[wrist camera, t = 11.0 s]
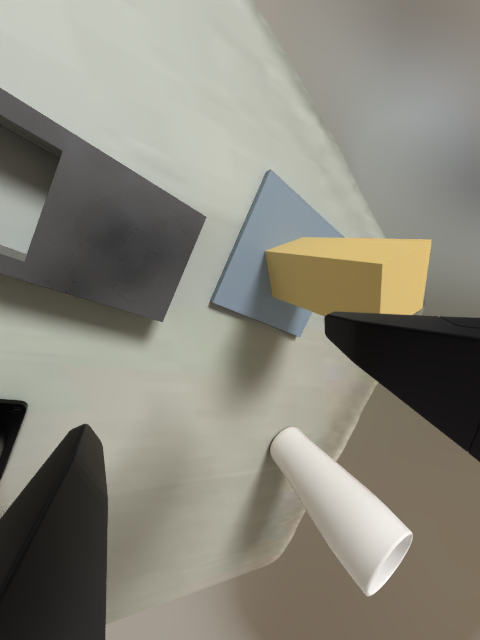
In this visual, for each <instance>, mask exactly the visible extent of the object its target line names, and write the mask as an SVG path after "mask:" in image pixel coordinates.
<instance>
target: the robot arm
mask: <svg viewBox="0 0 480 640" xmlns="http://www.w3.org/2000/svg"><path fill="white" fill-rule="evenodd" d="M324 320H325V334H326V336H327V338H328V339H329V340H330V341H331V342H332V343H333V344H335V345H336V346H337V347H338V348H339V349H340V350H341V351H342V352H343V353H344V354H345V355H346V356H347V357H348V358H349V359H350V360H351V361H353V362H354V363H355V364H356V365H357V366H359V367H360V368H361V369H362V370H364V371H365V372H366V373H367V374H369V375H370V376H371V377H372V378H374V379H375V380H376V381H378V382H379V383H380V384H381V385H383V386H384V387H385V388H386V389H388V390H389V391H391V392H392V393H393V394H394V395H395V396H397V397H398V398H399V399H400V400H402V401H403V402H404V403H406V404H407V405H408V406H409V407H411V408H412V409H413V410H414V411H416V412H417V413H419V414H420V415H421V416H422V417H423V418H425V419H426V420H427V421H429V422H430V423H431V424H432V425H434V426H435V427H436V428H437V429H439V430H440V431H441V432H443V433H444V434H445V435H446V436H448V437H449V438H450V439H451V440H453V441H454V442H455V443H456V444H458V445H459V446H460V447H462V448H463V449H464V450H465V451H467V452H468V453H469V454H470V455H471V456H473V457H474V458H475V459H477V460H478V461H479V462H480V318H468V317H444V316H442V317H441V316H440V317H438V316H421V315H400V314H379V313H358V312H337V311H334V312H331V313H329V314H327V315H326V316H325V319H324ZM15 407H19V408H21V410H15V409H14V408H15ZM27 408H28V405H27V403H26V402H24V401H19V400H6V399H0V479H1V477H2V475H3V472H4V469H5V467H6V464H7V461H8V459H9V456H10V453H11V451H12V448H13V445H14V443H15V440H16V437H17V435H18V432H19V429H20V426H21V424H22V421H23V418H24V416H25V413H26V410H27ZM107 524H108V495H107V484H106V474H105V464H104V454H103V446H102V443H101V441H100V439H99V438H98V437H97V435H96V434H95V432H94V431H93V430H92V428H91V427H90V426H89V425H88V424H83V425H80V426H78V427H76V428H74V429H72V430H70V431H69V432H68V434H67V435H66V436H65V438H64V439H63V440H62V441H61V443H60V444H59V445H58V446H57V448H56V449H55V450H54V451H53V453H52V454H51V455H50V457H49V458H48V459H47V460H46V462H45V463H44V464H43V465H42V467H41V468H40V469H39V471H38V472H37V473H36V474H35V476H34V477H33V478H32V479H31V481H30V482H29V483H28V484H27V486H26V487H25V488H24V490H23V491H22V492H21V493H20V495H19V496H18V497H17V498H16V500H15V501H14V502H13V503H12V505H11V506H10V507H9V509H8V510H7V511H6V512H5V514H4V515H3V516H2V517H1V519H0V640H105V624H106V574H107Z"/></svg>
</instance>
